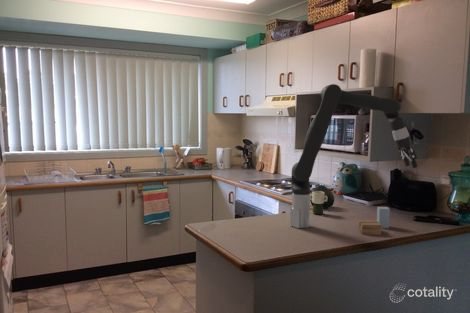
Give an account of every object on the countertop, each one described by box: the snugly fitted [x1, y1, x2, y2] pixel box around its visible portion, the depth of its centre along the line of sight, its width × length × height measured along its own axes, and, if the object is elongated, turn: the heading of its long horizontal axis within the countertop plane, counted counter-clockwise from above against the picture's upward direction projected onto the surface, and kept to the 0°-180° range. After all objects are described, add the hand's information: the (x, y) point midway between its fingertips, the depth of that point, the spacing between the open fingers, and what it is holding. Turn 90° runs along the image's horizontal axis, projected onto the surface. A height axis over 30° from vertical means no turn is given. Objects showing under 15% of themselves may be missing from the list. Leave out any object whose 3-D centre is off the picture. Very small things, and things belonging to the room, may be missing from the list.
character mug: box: [310, 191, 327, 215], centre depth 241 cm, size 11×7×13 cm, turn 60°
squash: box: [310, 184, 335, 210], centre depth 259 cm, size 14×15×15 cm
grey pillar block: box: [376, 206, 391, 229], centre depth 212 cm, size 5×5×10 cm
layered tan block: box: [357, 219, 382, 236], centre depth 203 cm, size 9×9×5 cm
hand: (411, 166), depth 211 cm, fingers open, 8 cm apart
